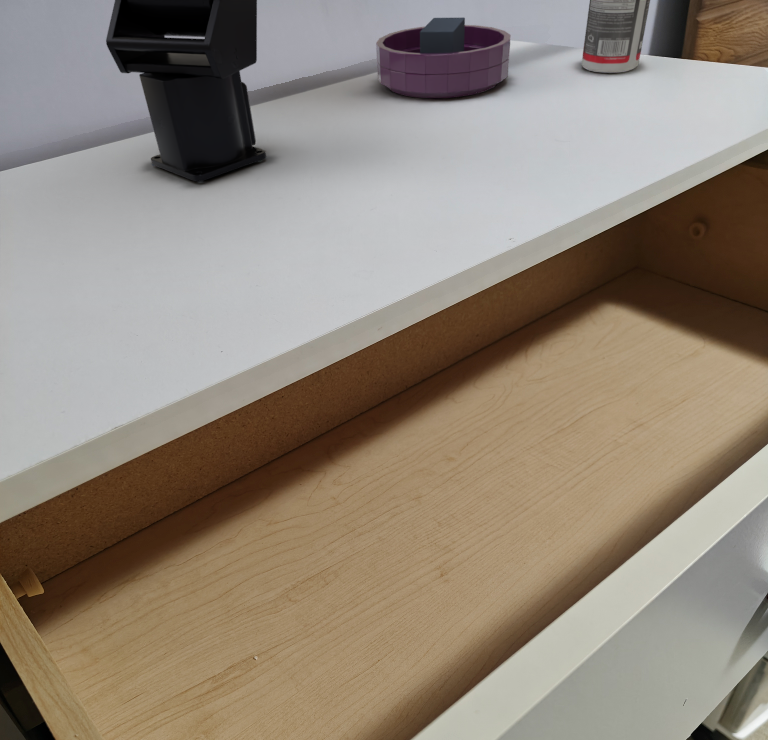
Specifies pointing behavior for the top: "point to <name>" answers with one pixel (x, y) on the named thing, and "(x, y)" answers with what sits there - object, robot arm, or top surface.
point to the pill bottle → (614, 35)
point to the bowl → (443, 64)
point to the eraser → (443, 36)
